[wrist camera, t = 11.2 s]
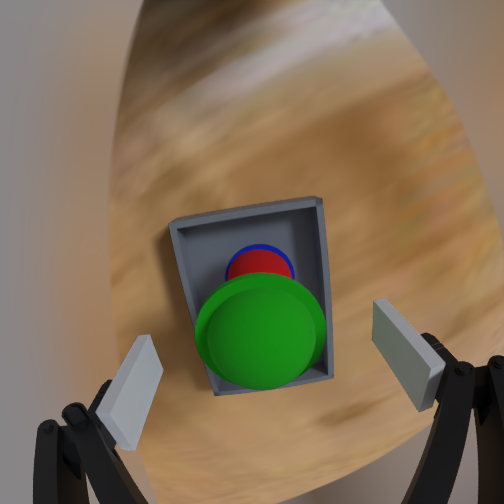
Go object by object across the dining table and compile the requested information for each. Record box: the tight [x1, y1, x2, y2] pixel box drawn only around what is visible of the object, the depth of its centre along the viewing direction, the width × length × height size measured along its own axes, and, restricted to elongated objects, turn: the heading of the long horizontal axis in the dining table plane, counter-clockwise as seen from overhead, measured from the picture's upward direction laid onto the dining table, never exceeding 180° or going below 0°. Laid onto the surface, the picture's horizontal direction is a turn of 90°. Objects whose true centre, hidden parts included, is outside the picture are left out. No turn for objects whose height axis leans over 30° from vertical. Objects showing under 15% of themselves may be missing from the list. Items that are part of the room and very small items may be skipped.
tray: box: [168, 196, 334, 396], centre depth 28 cm, size 19×13×3 cm
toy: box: [195, 244, 326, 390], centre depth 21 cm, size 8×8×15 cm
